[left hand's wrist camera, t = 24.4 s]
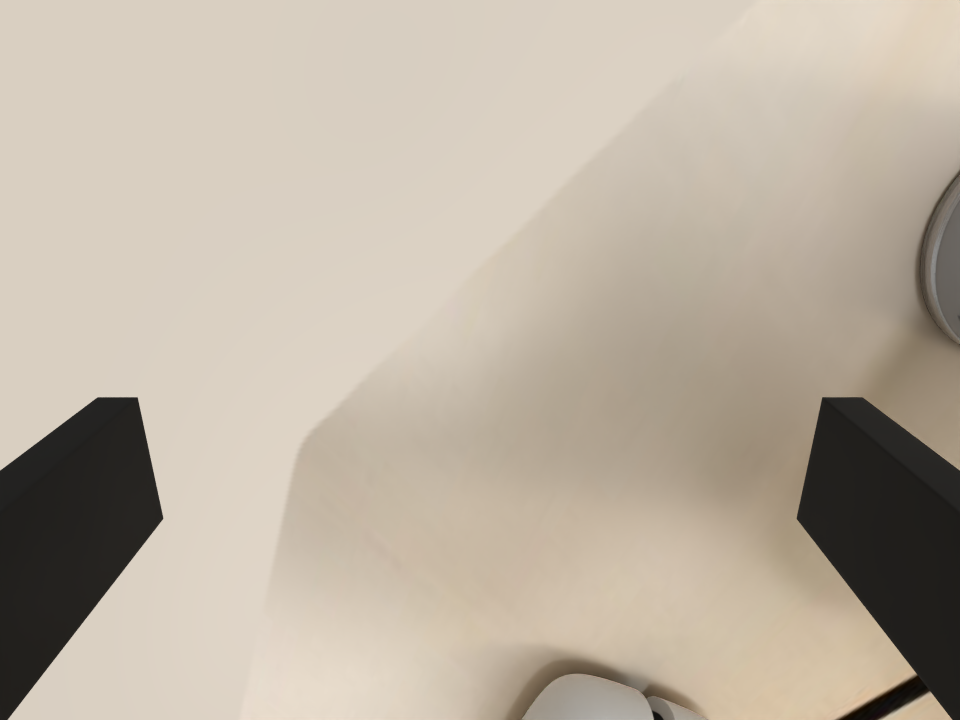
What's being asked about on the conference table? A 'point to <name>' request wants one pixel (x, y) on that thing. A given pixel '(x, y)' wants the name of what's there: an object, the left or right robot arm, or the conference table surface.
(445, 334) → the conference table surface
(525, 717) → the projector
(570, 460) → the conference table surface
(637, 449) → the conference table surface
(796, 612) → the conference table surface
